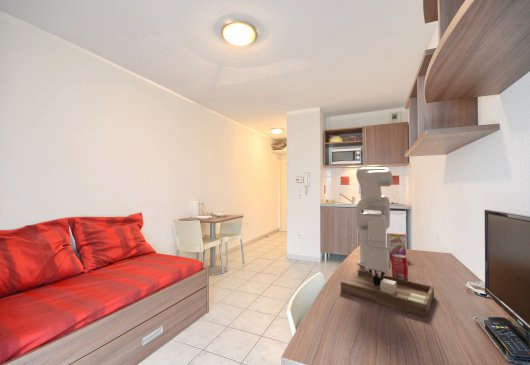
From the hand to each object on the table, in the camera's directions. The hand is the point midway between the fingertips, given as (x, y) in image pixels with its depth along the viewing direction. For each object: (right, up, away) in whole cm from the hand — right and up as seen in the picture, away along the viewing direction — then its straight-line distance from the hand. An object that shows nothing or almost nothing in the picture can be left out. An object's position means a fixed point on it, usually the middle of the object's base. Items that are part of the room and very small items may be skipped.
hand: (377, 285), depth 108 cm
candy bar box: (+38, -5, +54) cm, 67 cm away
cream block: (+3, -1, -3) cm, 5 cm away
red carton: (+17, -4, +12) cm, 21 cm away
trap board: (+3, -3, -2) cm, 5 cm away
